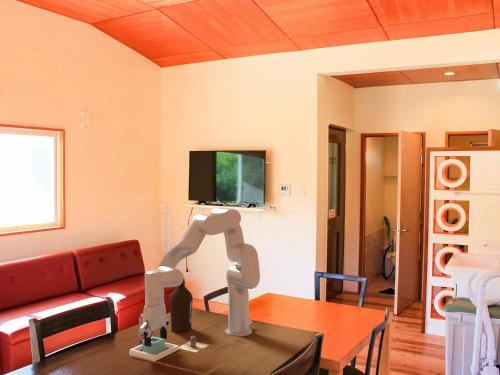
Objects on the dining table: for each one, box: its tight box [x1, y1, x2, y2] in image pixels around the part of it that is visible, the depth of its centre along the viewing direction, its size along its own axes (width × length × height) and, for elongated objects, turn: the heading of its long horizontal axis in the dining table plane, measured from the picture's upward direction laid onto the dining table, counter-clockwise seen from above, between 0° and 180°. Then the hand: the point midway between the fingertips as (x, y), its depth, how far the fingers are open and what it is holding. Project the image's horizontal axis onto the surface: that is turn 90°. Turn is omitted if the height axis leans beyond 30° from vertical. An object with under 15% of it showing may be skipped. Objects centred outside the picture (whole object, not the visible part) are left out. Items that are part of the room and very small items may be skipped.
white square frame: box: [128, 341, 180, 363], centre depth 196 cm, size 14×14×2 cm
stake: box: [179, 335, 210, 353], centre depth 203 cm, size 10×10×5 cm
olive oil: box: [169, 277, 194, 334], centre depth 224 cm, size 11×11×25 cm
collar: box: [141, 336, 166, 355], centre depth 197 cm, size 8×6×5 cm
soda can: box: [138, 312, 156, 343], centre depth 211 cm, size 7×7×12 cm
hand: (155, 342), depth 197 cm, fingers open, 9 cm apart
